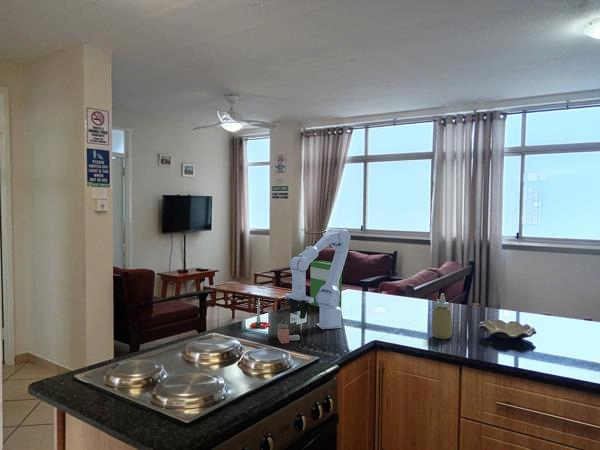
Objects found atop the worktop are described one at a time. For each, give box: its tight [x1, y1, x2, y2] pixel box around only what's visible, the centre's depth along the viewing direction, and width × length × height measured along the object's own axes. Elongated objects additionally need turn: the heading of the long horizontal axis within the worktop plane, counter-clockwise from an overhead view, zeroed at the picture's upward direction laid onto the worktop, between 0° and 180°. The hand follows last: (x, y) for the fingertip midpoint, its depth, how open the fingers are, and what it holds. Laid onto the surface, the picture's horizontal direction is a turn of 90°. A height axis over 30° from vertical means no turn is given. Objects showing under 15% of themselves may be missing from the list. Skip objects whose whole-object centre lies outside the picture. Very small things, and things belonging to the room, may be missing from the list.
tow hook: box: [250, 298, 271, 329], centre depth 193 cm, size 8×13×9 cm
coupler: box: [277, 323, 301, 344], centre depth 172 cm, size 8×8×6 cm
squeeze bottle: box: [431, 293, 453, 340], centre depth 177 cm, size 8×8×18 cm
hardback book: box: [309, 260, 343, 310], centre depth 234 cm, size 18×7×24 cm, turn 36°
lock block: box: [289, 310, 308, 325], centre depth 182 cm, size 6×4×4 cm, turn 139°
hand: (298, 317), depth 182 cm, fingers closed on lock block, 4 cm apart
